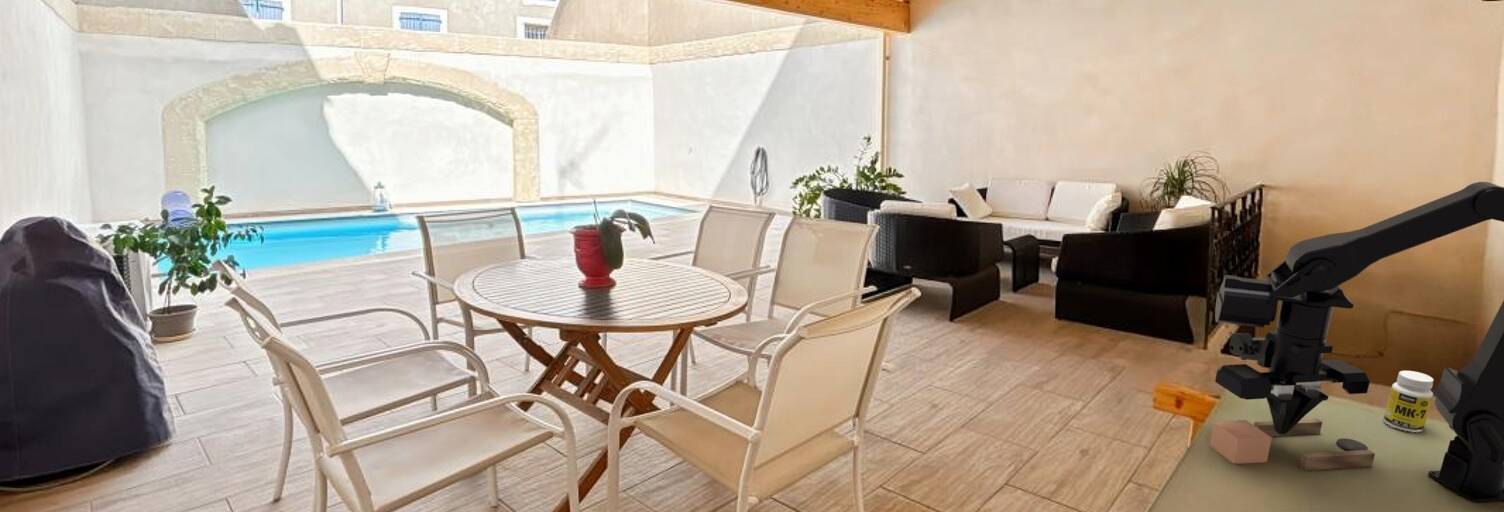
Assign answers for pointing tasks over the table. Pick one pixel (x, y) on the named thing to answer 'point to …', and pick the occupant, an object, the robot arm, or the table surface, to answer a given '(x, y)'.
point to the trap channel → (1350, 458)
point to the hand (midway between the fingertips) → (1280, 433)
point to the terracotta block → (1240, 441)
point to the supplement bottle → (1409, 401)
